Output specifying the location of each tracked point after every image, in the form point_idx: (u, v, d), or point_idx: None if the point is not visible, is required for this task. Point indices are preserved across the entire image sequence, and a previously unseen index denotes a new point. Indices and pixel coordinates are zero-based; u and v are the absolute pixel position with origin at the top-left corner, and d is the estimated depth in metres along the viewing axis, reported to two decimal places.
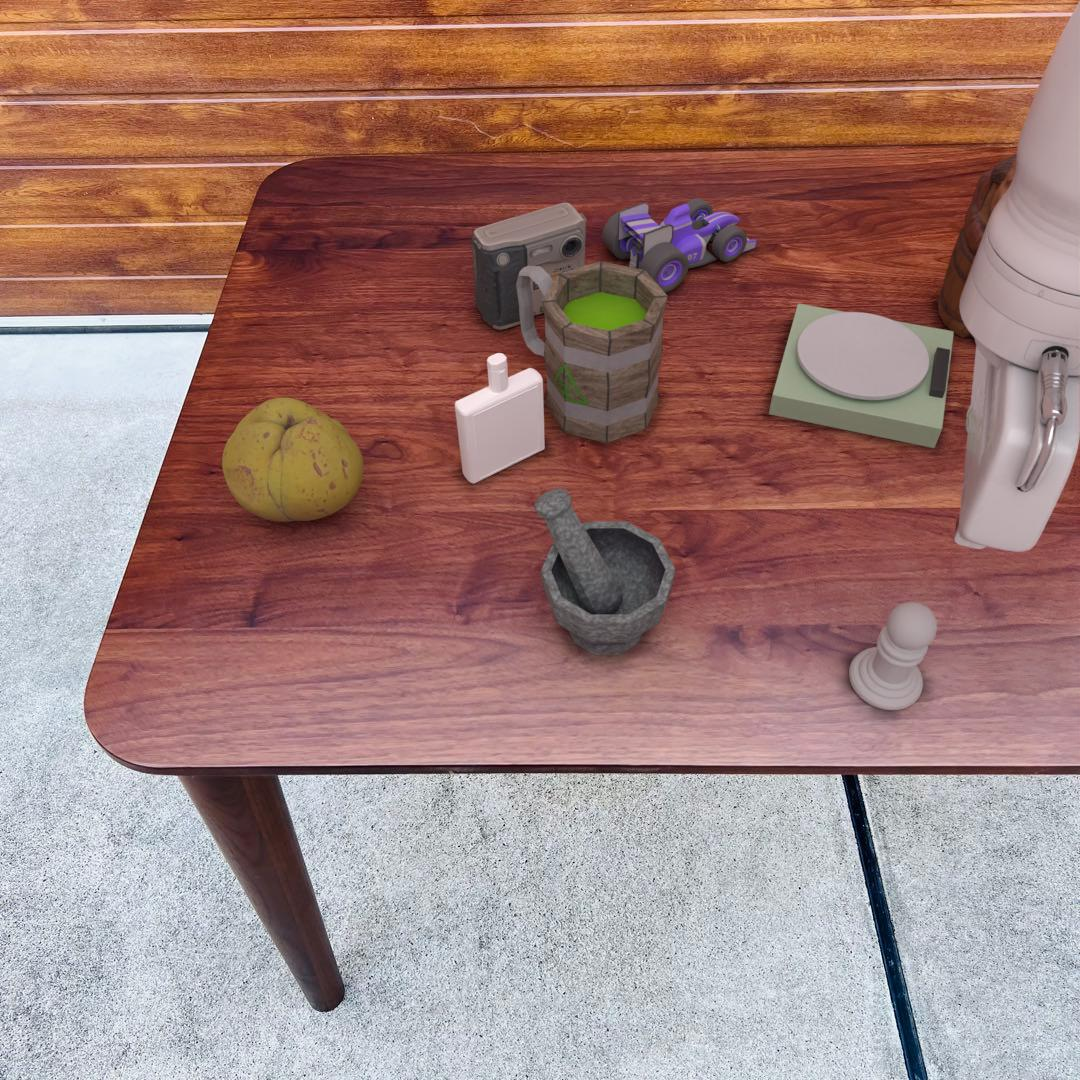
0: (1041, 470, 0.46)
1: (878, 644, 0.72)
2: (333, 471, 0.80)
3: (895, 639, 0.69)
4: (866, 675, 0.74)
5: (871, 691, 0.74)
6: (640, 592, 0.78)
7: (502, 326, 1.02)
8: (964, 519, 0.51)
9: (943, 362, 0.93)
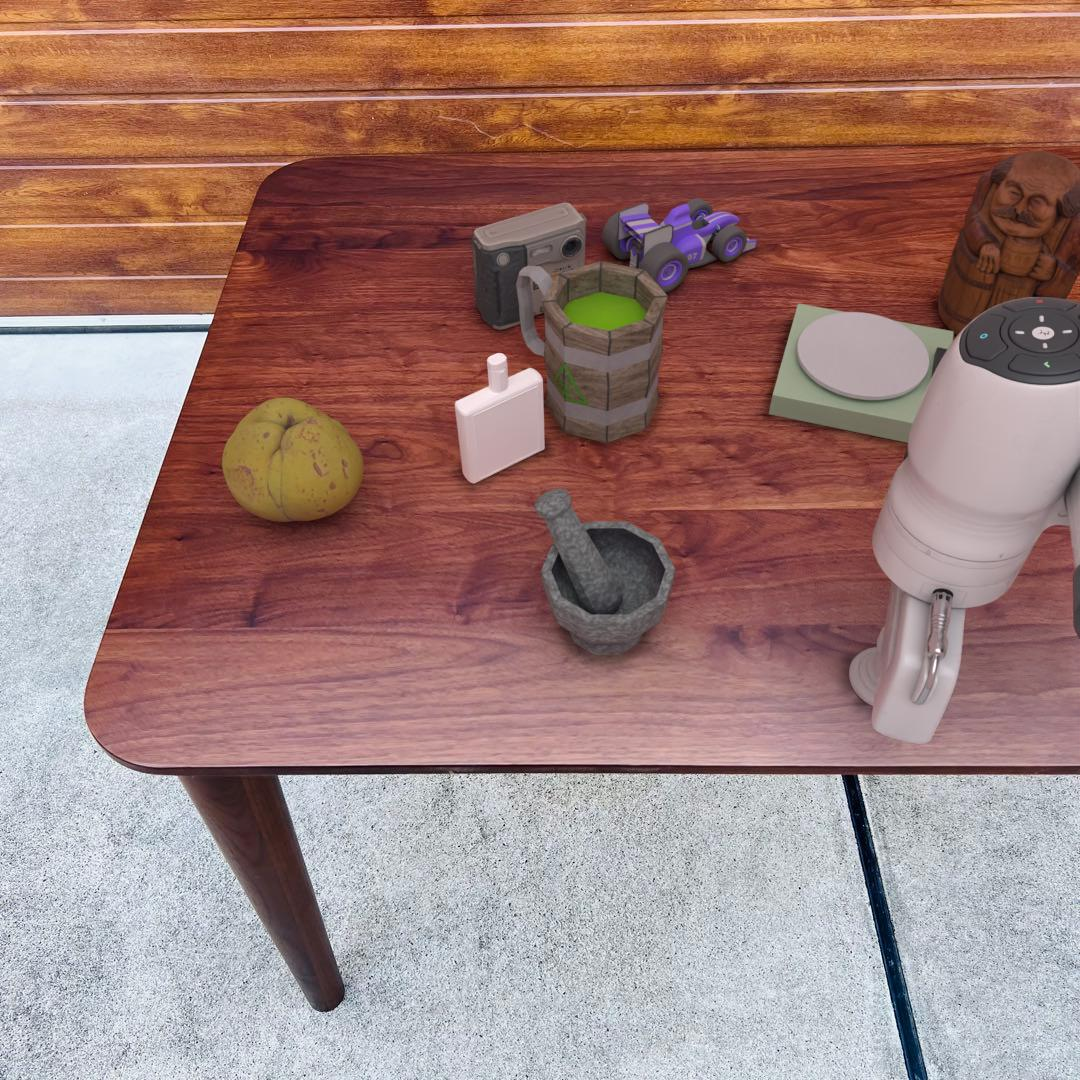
0: (927, 694, 0.58)
1: (878, 644, 0.72)
2: (333, 471, 0.80)
3: None
4: (866, 675, 0.74)
5: (871, 691, 0.74)
6: (640, 592, 0.78)
7: (502, 326, 1.02)
8: (874, 717, 0.63)
9: None
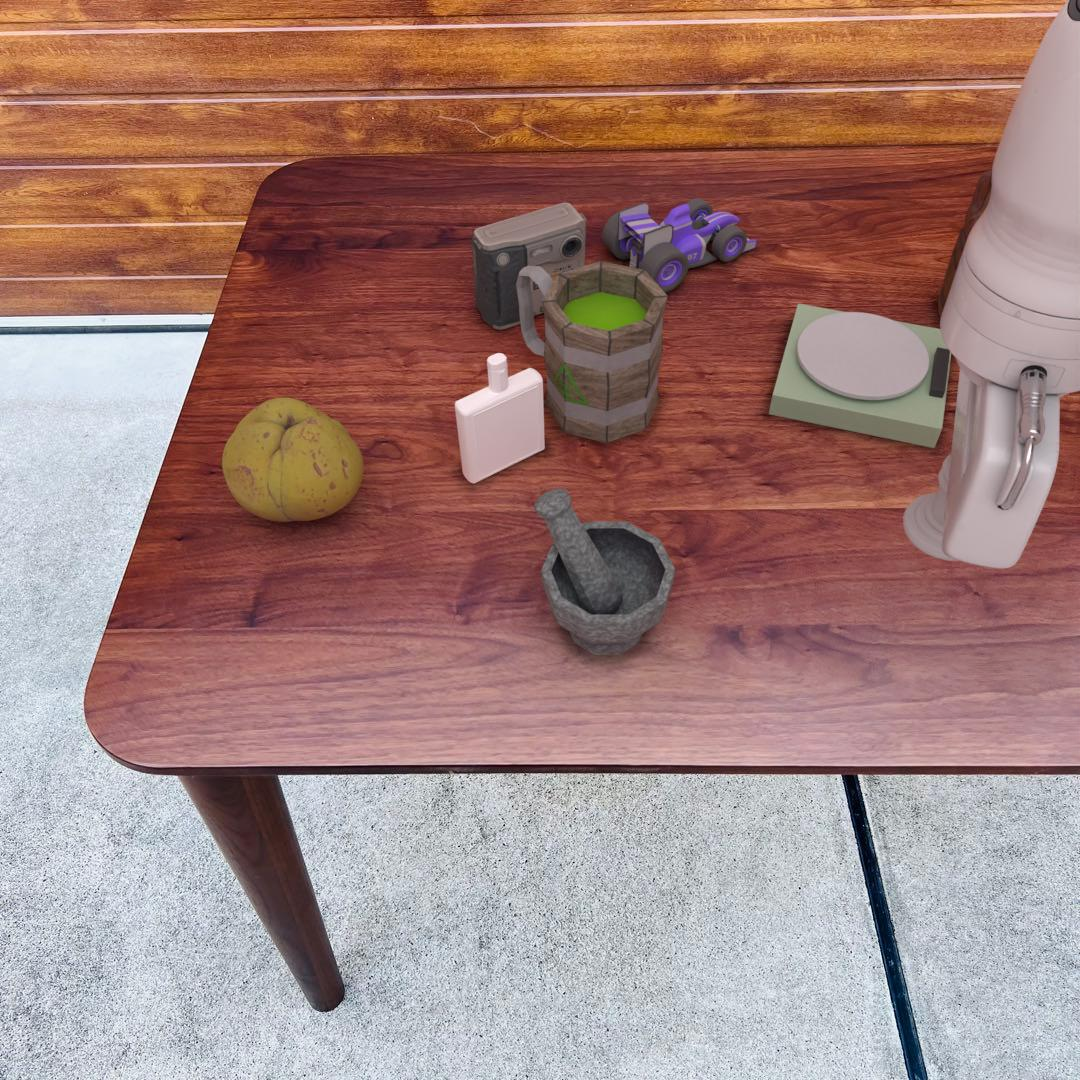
0: (1020, 489, 0.46)
1: (940, 478, 0.60)
2: (333, 471, 0.80)
3: None
4: (924, 521, 0.63)
5: (931, 539, 0.62)
6: (640, 592, 0.78)
7: (502, 326, 1.02)
8: (947, 536, 0.51)
9: (943, 362, 0.93)
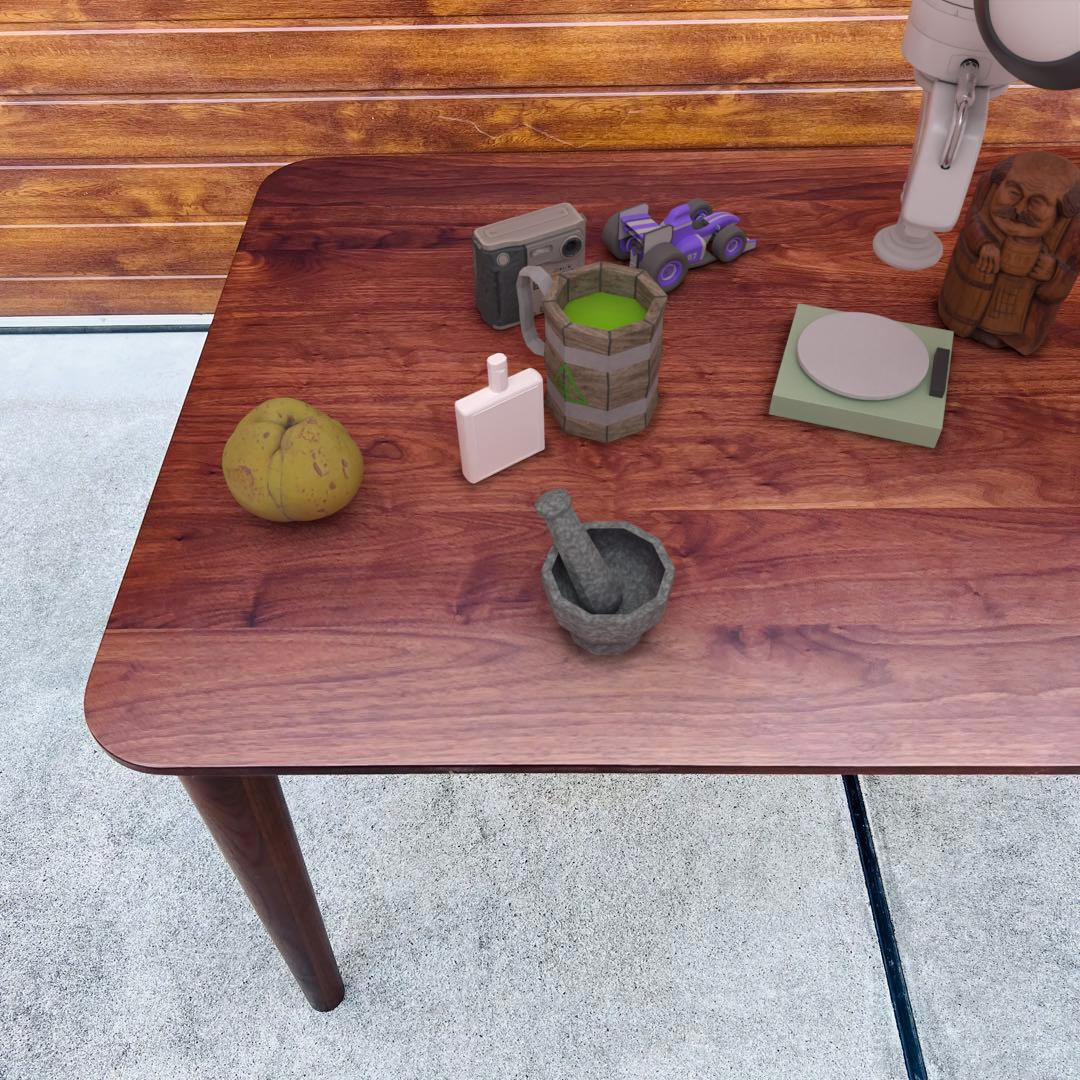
0: (956, 143, 0.62)
1: (901, 197, 0.76)
2: (333, 471, 0.80)
3: None
4: (889, 239, 0.78)
5: (894, 252, 0.78)
6: (640, 592, 0.78)
7: (502, 326, 1.02)
8: (903, 204, 0.67)
9: (943, 362, 0.93)
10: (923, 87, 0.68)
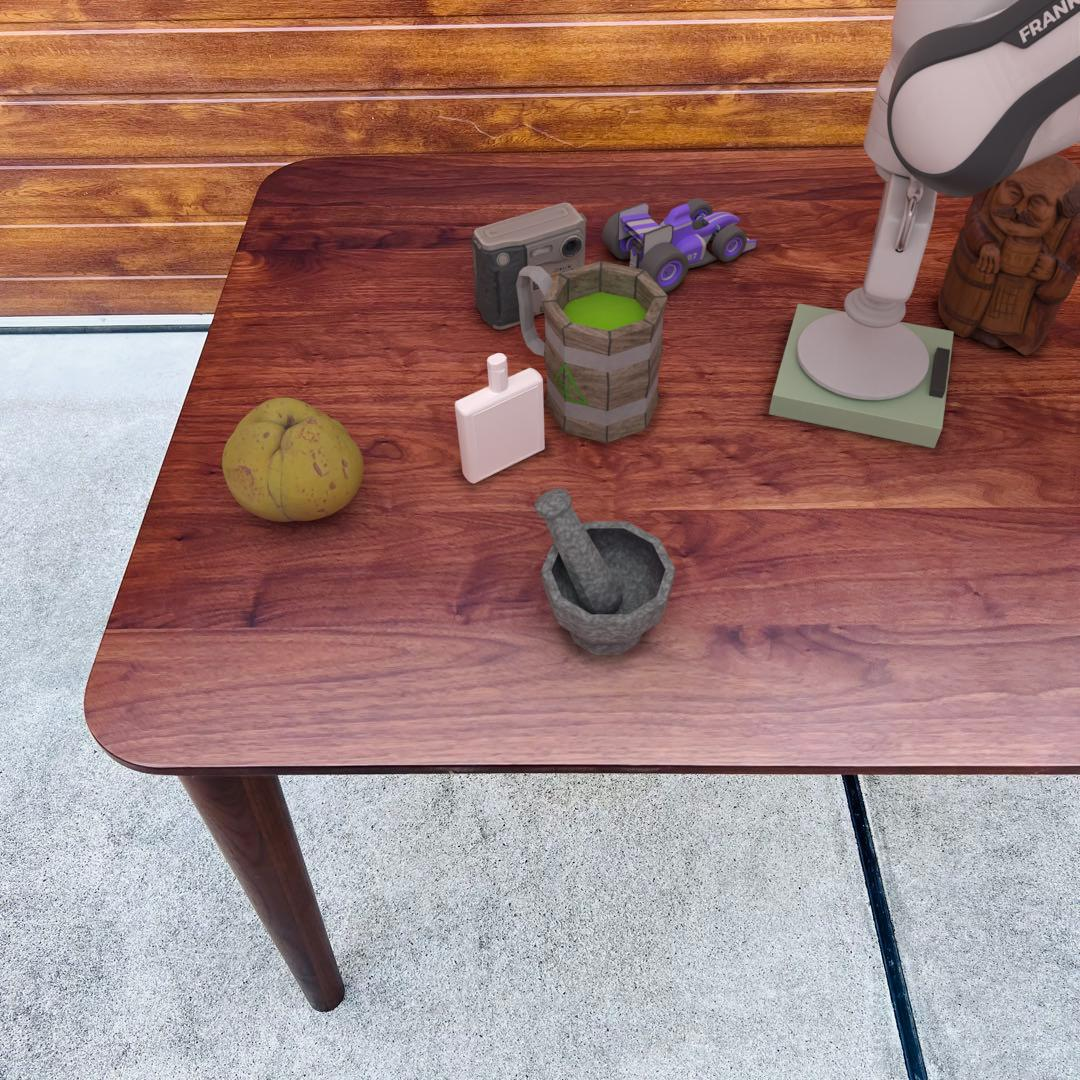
0: (907, 232, 0.72)
1: None
2: (333, 471, 0.80)
3: None
4: (858, 301, 0.89)
5: (862, 312, 0.88)
6: (640, 592, 0.78)
7: (502, 326, 1.02)
8: (865, 279, 0.77)
9: (943, 362, 0.93)
10: (883, 177, 0.78)
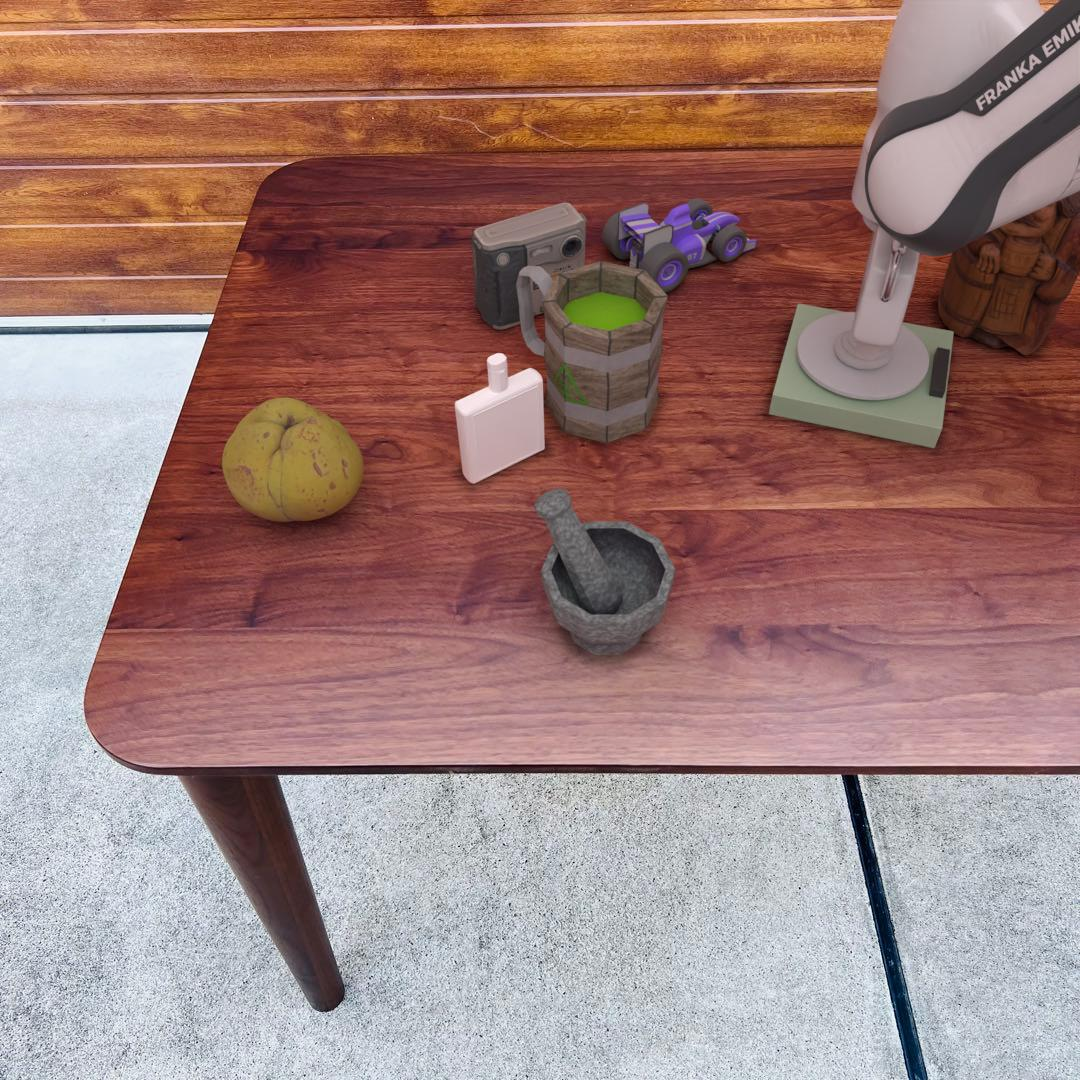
0: (892, 284, 0.76)
1: None
2: (333, 471, 0.80)
3: None
4: (847, 343, 0.92)
5: (851, 354, 0.92)
6: (640, 592, 0.78)
7: (502, 326, 1.02)
8: (852, 326, 0.81)
9: (943, 362, 0.93)
10: (870, 227, 0.82)
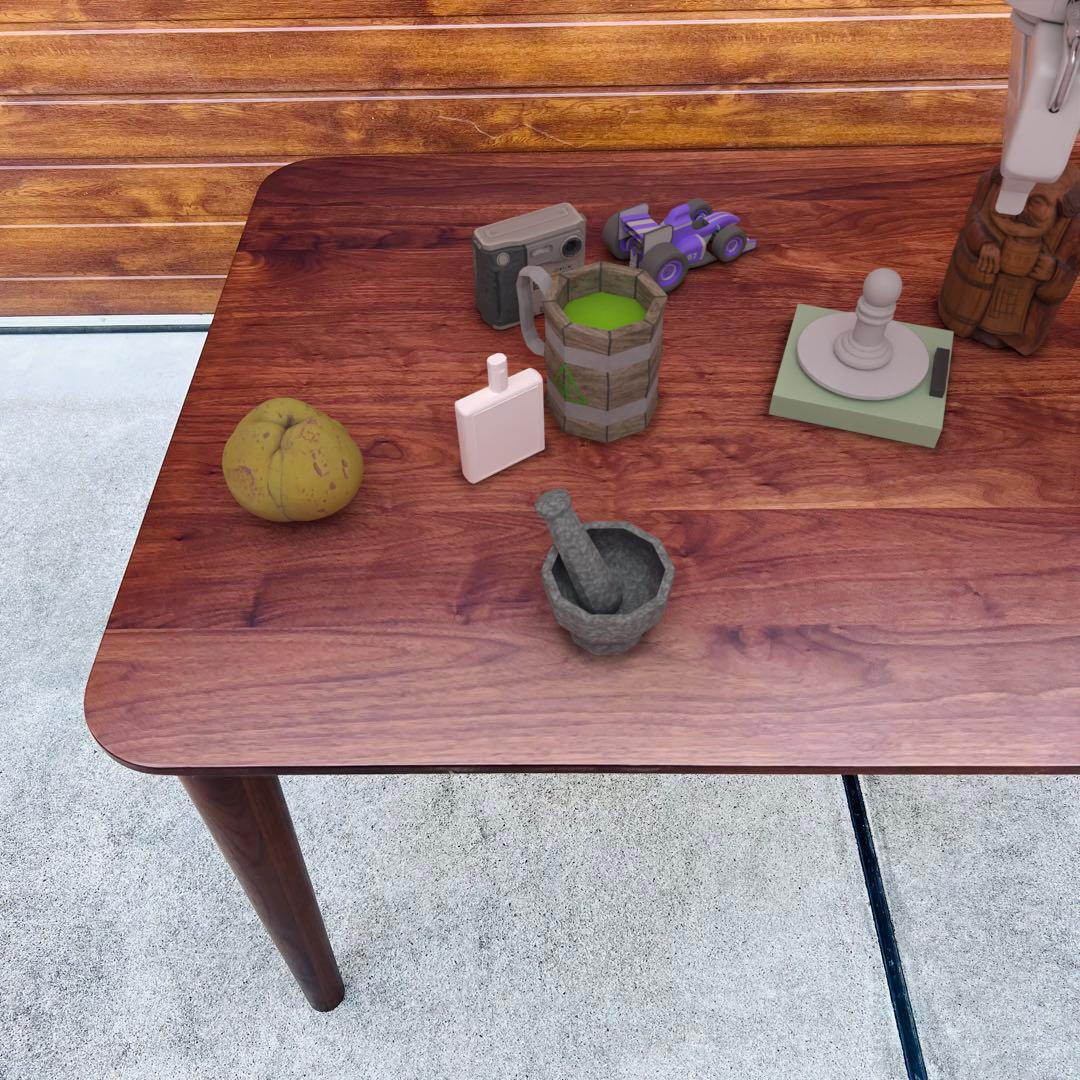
0: (1068, 82, 0.58)
1: (856, 310, 0.90)
2: (333, 471, 0.80)
3: (869, 296, 0.87)
4: (847, 343, 0.92)
5: (851, 354, 0.92)
6: (640, 592, 0.78)
7: (502, 326, 1.02)
8: (1005, 154, 0.62)
9: (943, 362, 0.93)
10: (1023, 31, 0.64)
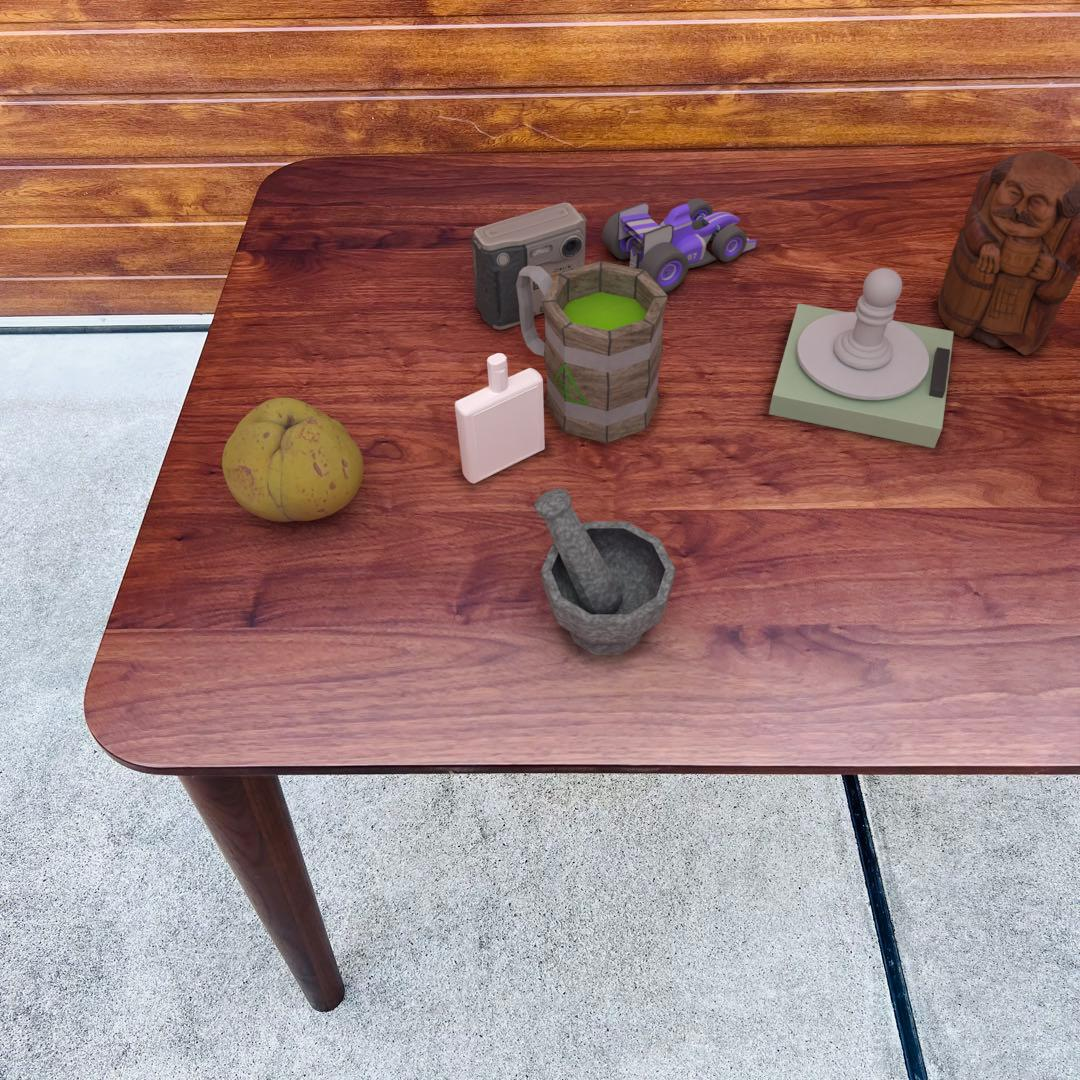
0: None
1: (856, 310, 0.90)
2: (333, 471, 0.80)
3: (869, 296, 0.87)
4: (847, 343, 0.92)
5: (851, 354, 0.92)
6: (640, 592, 0.78)
7: (502, 326, 1.02)
8: None
9: (943, 362, 0.93)
10: None
